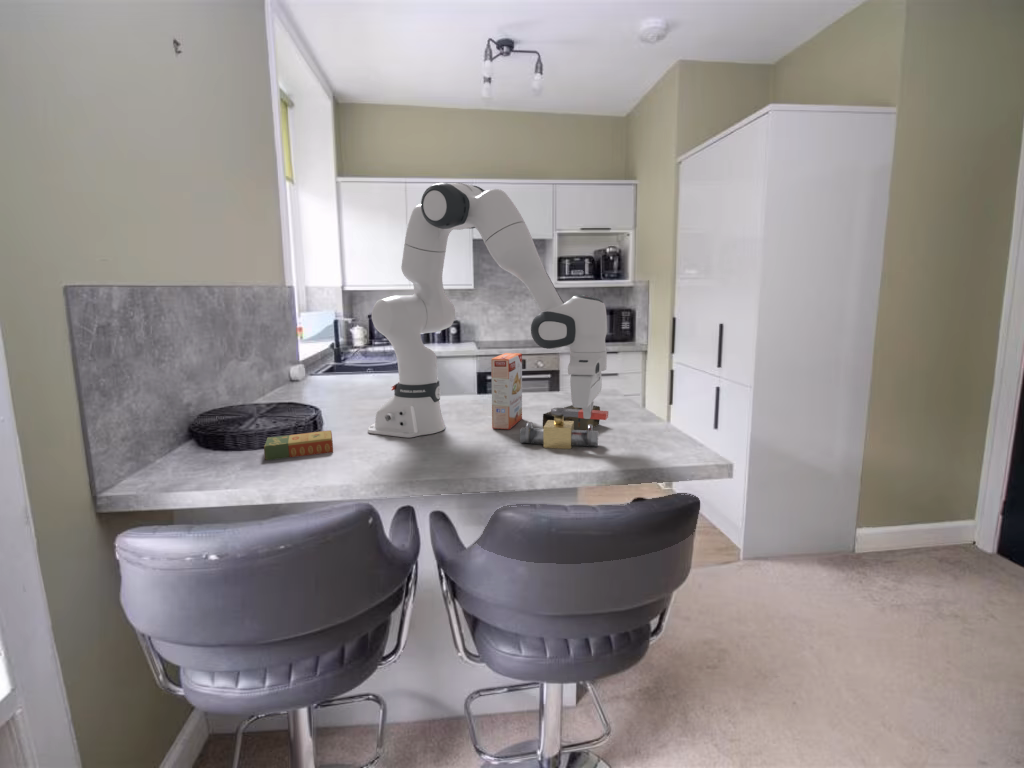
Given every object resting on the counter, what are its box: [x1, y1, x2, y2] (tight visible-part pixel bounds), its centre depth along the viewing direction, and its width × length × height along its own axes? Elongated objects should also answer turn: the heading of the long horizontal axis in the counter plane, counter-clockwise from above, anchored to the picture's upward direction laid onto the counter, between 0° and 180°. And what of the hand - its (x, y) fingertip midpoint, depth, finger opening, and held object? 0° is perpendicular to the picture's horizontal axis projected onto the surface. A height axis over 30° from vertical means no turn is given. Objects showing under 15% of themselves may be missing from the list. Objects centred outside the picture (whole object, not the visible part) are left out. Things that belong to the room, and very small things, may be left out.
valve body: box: [519, 416, 599, 450], centre depth 134 cm, size 20×7×8 cm, turn 77°
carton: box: [263, 429, 334, 461], centre depth 133 cm, size 8×16×4 cm, turn 110°
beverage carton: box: [542, 404, 601, 430], centre depth 148 cm, size 8×19×7 cm, turn 140°
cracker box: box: [490, 352, 523, 431], centre depth 154 cm, size 14×6×21 cm, turn 164°
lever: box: [550, 407, 609, 421], centre depth 131 cm, size 14×4×2 cm, turn 68°
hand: (587, 417), depth 128 cm, fingers closed
